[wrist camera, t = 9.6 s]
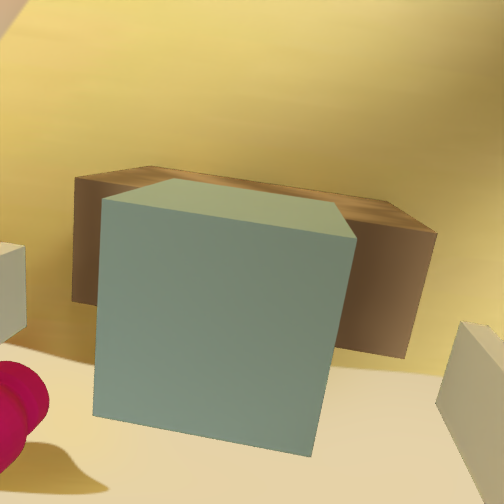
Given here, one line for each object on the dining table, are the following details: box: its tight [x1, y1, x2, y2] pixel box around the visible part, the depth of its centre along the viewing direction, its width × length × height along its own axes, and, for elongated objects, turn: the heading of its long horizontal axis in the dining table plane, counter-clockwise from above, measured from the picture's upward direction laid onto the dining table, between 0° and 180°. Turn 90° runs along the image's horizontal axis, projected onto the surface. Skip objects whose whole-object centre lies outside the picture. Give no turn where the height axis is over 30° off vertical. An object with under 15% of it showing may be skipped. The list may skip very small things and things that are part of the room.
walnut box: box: [72, 166, 438, 359], centre depth 24 cm, size 16×6×10 cm, turn 82°
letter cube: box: [93, 178, 357, 457], centre depth 15 cm, size 7×7×7 cm
